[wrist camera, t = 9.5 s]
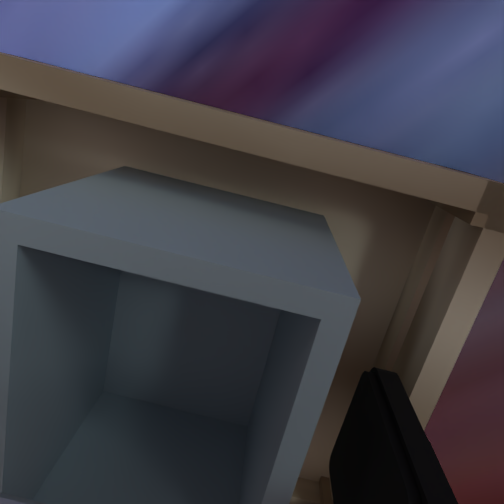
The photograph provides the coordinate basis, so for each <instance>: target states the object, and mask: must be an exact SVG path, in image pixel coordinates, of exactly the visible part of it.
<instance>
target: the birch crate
mask: <svg viewBox="0 0 504 504" xmlns="http://www.w3.org/2000/svg"><path fill="white" fill-rule="evenodd" d="M123 166H127V167H131V168H135V169H139V170H143V171H147V172H151V173H155V174H159V175H163V176H167V177H171V178H175V179H179V180H183V181H187V182H191V183H195V184H199V185H203V186H207V187H211V188H215V189H219V190H223V191H227V192H231V193H235V194H239V195H243V196H247V197H251V198H255V199H259V200H263V201H267V202H271V203H275V204H279V205H283V206H287V207H291V208H295V209H299V210H303V211H307V212H311V213H315V214H319V215H323V216H324V217H325V219H326V221H327V224H328V226H329V228H330V230H331V233H332V235H333V237H334V239H335V242H336V244H337V246H338V248H339V251H340V253H341V255H342V258H343V260H344V262H345V264H346V267H347V269H348V271H349V273H350V276H351V278H352V280H353V282H354V285H355V287H356V289H357V292H358V294H359V296H360V298H361V301H360V304H359V307H358V309H357V312H356V315H355V318H354V321H353V324H352V326H351V329H350V332H349V335H348V338H347V341H346V344H345V346H344V349H343V352H342V355H341V358H340V361H339V363H338V366H337V369H336V372H335V375H334V378H333V380H332V383H331V386H330V389H329V392H328V395H327V398H326V400H325V403H324V406H323V409H322V412H321V415H320V417H319V420H318V423H317V426H316V429H315V432H314V435H313V437H312V440H311V443H310V446H309V449H308V452H307V454H306V457H305V460H304V463H303V466H302V469H301V471H300V474H299V477H298V480H297V483H296V486H295V489H294V491H293V494H292V497H291V500H290V503H289V504H334V503H333V496H332V488H331V481H330V474H329V461H330V456H331V453H332V450H333V447H334V445H335V442H336V440H337V437H338V434H339V432H340V429H341V427H342V424H343V421H344V419H345V416H346V414H347V411H348V408H349V406H350V403H351V401H352V398H353V395H354V393H355V390H356V388H357V385H358V382H359V380H360V377H361V375H362V373H363V372H364V371H368V372H370V370H371V369H372V368H373V367H375V368H379V369H383V370H387V371H391V372H395V373H397V374H398V375H399V378H400V380H401V382H402V384H403V386H404V389H405V391H406V393H407V395H408V397H409V399H410V402H411V404H412V406H413V408H414V410H415V413H416V415H417V417H418V419H419V421H420V424H421V426H422V428H423V430H425V427H426V425H427V423H428V421H429V419H430V417H431V414H432V412H433V410H434V408H435V406H436V404H437V401H438V399H439V397H440V395H441V393H442V391H443V388H444V386H445V384H446V382H447V380H448V378H449V375H450V373H451V371H452V369H453V367H454V365H455V362H456V360H457V358H458V356H459V354H460V352H461V350H462V347H463V345H464V343H465V341H466V339H467V337H468V334H469V332H470V330H471V328H472V326H473V324H474V321H475V319H476V317H477V315H478V313H479V311H480V308H481V306H482V304H483V302H484V300H485V298H486V295H487V293H488V291H489V289H490V287H491V285H492V283H493V280H494V278H495V276H496V274H497V272H498V270H499V267H500V265H501V263H502V261H503V259H504V183H501V182H498V181H494V180H491V179H487V178H484V177H480V176H477V175H473V174H470V173H467V172H463V171H459V170H455V169H451V168H447V167H443V166H440V165H436V164H432V163H428V162H424V161H420V160H416V159H413V158H409V157H405V156H401V155H397V154H393V153H389V152H386V151H382V150H378V149H374V148H370V147H366V146H362V145H358V144H355V143H351V142H347V141H343V140H339V139H335V138H331V137H328V136H324V135H320V134H316V133H312V132H308V131H304V130H300V129H297V128H293V127H289V126H285V125H281V124H277V123H273V122H270V121H266V120H262V119H258V118H254V117H250V116H246V115H242V114H239V113H235V112H231V111H227V110H223V109H219V108H215V107H212V106H208V105H204V104H200V103H196V102H192V101H188V100H184V99H181V98H177V97H173V96H169V95H165V94H161V93H157V92H154V91H150V90H146V89H142V88H138V87H134V86H130V85H126V84H123V83H119V82H115V81H111V80H107V79H103V78H99V77H96V76H92V75H88V74H84V73H80V72H76V71H72V70H68V69H65V68H61V67H57V66H53V65H49V64H45V63H41V62H38V61H34V60H30V59H26V58H22V57H18V56H14V55H10V54H6V53H1V52H0V203H3V202H7V201H10V200H13V199H17V198H20V197H23V196H27V195H30V194H33V193H36V192H40V191H43V190H46V189H50V188H53V187H56V186H60V185H63V184H66V183H70V182H73V181H76V180H80V179H83V178H86V177H90V176H93V175H96V174H100V173H103V172H106V171H110V170H113V169H116V168H120V167H123Z"/></svg>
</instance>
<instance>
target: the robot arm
mask: <svg viewBox="0 0 504 504" xmlns="http://www.w3.org/2000/svg"><path fill="white" fill-rule="evenodd" d="M329 474H330V481H331V488H332V496H333V503H334V504H458V502H457V500H456V498H455V496H454V494H453V492H452V489H451V487H450V485H449V483H448V481H447V478H446V476H445V474H444V472H443V470H442V468H441V465H440V463H439V461H438V459H437V457H436V455H435V452H434V450H433V448H432V446H431V444H430V442H429V440H428V439H427V437H426V435H425V432H424V430H423V428H422V426H421V424H420V421H419V419H418V417H417V415H416V413H415V410H414V408H413V406H412V404H411V402H410V399H409V397H408V395H407V393H406V391H405V389H404V386H403V384H402V382H401V380H400V378H399V375H398V374H397V373H395V372H391V371H387V370H383V369H379V368H375V367H373V368H372V369H371V370H370V372H368V371H364V372H363V373H362V375H361V377H360V380H359V382H358V385H357V388H356V390H355V393H354V395H353V398H352V401H351V403H350V406H349V408H348V411H347V414H346V416H345V419H344V421H343V424H342V427H341V429H340V432H339V434H338V437H337V440H336V442H335V445H334V447H333V450H332V453H331V456H330V461H329ZM0 504H46V503H42V502H38V501H34V500H30V499H26V498H22V497H18V496H14V495H9V494H5V493H1V492H0Z"/></svg>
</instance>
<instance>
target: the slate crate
mask: <svg viewBox="0 0 504 504" xmlns="http://www.w3.org/2000/svg"><path fill="white" fill-rule="evenodd" d="M360 301H361V298H360V296H359V294H358V292H357V289H356V287H355V285H354V282H353V280H352V278H351V276H350V273H349V271H348V269H347V267H346V264H345V262H344V260H343V258H342V255H341V253H340V251H339V248H338V246H337V244H336V242H335V239H334V237H333V235H332V233H331V230H330V228H329V226H328V224H327V221H326V219H325V217H324V216H323V215H319V214H315V213H311V212H307V211H303V210H299V209H295V208H291V207H287V206H283V205H279V204H275V203H271V202H267V201H263V200H259V199H255V198H251V197H247V196H243V195H239V194H235V193H231V192H227V191H223V190H219V189H215V188H211V187H207V186H203V185H199V184H195V183H191V182H187V181H183V180H179V179H175V178H171V177H167V176H163V175H159V174H155V173H151V172H147V171H143V170H139V169H135V168H131V167H127V166H123V167H120V168H116V169H113V170H110V171H106V172H103V173H100V174H96V175H93V176H90V177H86V178H83V179H80V180H76V181H73V182H70V183H66V184H63V185H60V186H56V187H53V188H50V189H46V190H43V191H40V192H36V193H33V194H30V195H27V196H23V197H20V198H17V199H13V200H10V201H7V202H3V203H0V492H1V493H5V494H9V495H14V496H18V497H22V498H26V499H30V500H34V501H38V502H42V503H46V504H289V503H290V500H291V497H292V494H293V491H294V489H295V486H296V483H297V480H298V477H299V474H300V471H301V469H302V466H303V463H304V460H305V457H306V454H307V452H308V449H309V446H310V443H311V440H312V437H313V435H314V432H315V429H316V426H317V423H318V420H319V417H320V415H321V412H322V409H323V406H324V403H325V400H326V398H327V395H328V392H329V389H330V386H331V383H332V380H333V378H334V375H335V372H336V369H337V366H338V363H339V361H340V358H341V355H342V352H343V349H344V346H345V344H346V341H347V338H348V335H349V332H350V329H351V326H352V324H353V321H354V318H355V315H356V312H357V309H358V307H359V304H360Z"/></svg>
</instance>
